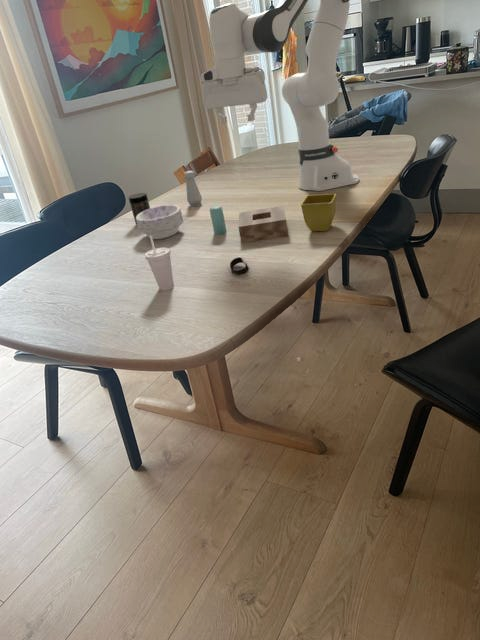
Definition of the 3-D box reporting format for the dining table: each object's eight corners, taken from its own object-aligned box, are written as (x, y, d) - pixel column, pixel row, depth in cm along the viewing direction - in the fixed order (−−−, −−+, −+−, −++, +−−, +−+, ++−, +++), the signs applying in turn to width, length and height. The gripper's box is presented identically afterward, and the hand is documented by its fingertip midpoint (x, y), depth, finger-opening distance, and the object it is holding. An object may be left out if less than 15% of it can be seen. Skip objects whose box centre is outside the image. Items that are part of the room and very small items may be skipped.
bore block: (285, 221, 151) (283, 205, 148) (288, 235, 138) (286, 219, 136) (241, 227, 152) (239, 212, 150) (241, 243, 140) (238, 226, 137)
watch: (253, 273, 120) (251, 260, 118) (235, 278, 119) (233, 265, 117) (244, 263, 126) (242, 251, 124) (227, 268, 125) (225, 255, 124)
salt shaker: (200, 206, 183) (193, 172, 176) (186, 207, 184) (179, 174, 178) (204, 201, 188) (197, 168, 181) (191, 203, 189) (183, 170, 183)
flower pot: (338, 222, 141) (336, 193, 137) (334, 233, 134) (331, 202, 130) (309, 224, 144) (306, 195, 140) (303, 234, 137) (300, 204, 133)
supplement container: (152, 218, 179) (145, 191, 174) (155, 223, 173) (147, 195, 168) (135, 223, 178) (127, 195, 173) (137, 227, 172) (129, 199, 167)
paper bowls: (149, 246, 151) (142, 223, 147) (136, 236, 163) (129, 213, 160) (192, 232, 156) (187, 209, 152) (176, 223, 168) (171, 201, 165)
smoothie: (155, 284, 124) (141, 233, 117) (179, 279, 124) (166, 229, 117) (153, 294, 118) (138, 242, 111) (178, 290, 118) (165, 237, 111)
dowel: (226, 229, 153) (222, 205, 149) (226, 233, 150) (221, 208, 146) (214, 231, 154) (209, 207, 150) (213, 235, 150) (209, 210, 146)
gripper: (268, 65, 134) (273, 117, 141) (206, 74, 143) (213, 122, 150) (258, 66, 129) (264, 120, 136) (195, 76, 138) (204, 126, 145)
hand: (237, 121), depth 143 cm, fingers open, 8 cm apart
